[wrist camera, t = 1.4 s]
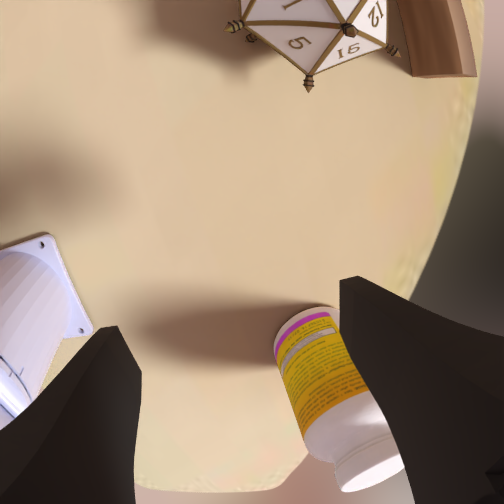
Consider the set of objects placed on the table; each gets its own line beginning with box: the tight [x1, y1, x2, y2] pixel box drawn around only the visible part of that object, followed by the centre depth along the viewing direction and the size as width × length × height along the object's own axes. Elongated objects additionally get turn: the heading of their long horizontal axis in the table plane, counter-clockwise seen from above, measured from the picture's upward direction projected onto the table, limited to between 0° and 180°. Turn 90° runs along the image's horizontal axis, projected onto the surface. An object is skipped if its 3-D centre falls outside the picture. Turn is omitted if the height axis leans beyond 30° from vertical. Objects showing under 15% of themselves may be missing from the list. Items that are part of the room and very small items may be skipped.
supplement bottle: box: [274, 307, 404, 492], centre depth 18 cm, size 7×7×13 cm
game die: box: [224, 0, 401, 93], centre depth 10 cm, size 9×8×10 cm
